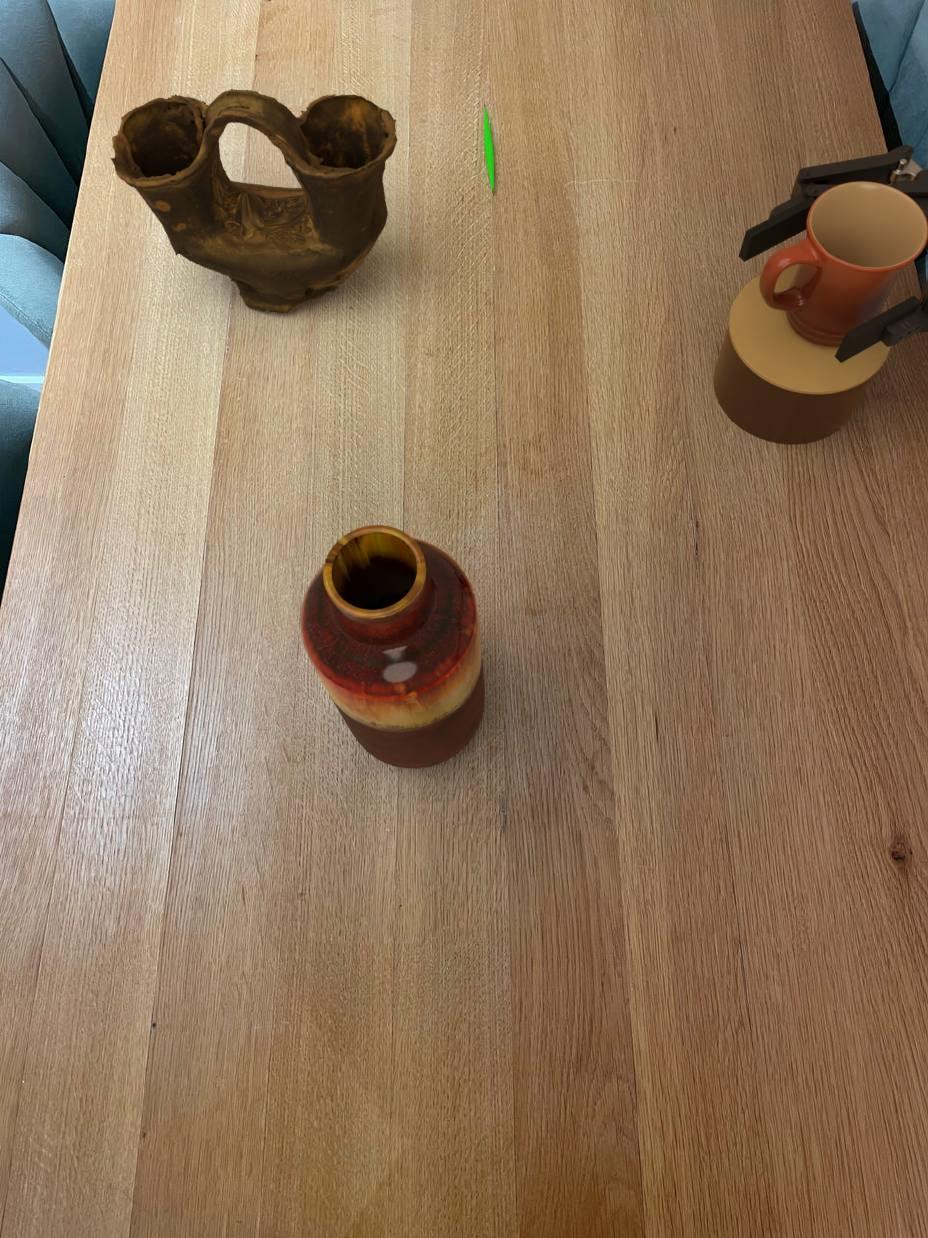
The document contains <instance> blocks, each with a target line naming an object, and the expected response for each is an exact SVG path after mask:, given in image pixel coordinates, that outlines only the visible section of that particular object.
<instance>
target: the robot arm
mask: <svg viewBox="0 0 928 1238" xmlns="http://www.w3.org/2000/svg"><path fill="white" fill-rule="evenodd" d="M914 153H915V149H914V147H913V146H911V145H910V144H903V145H900V146H898V147H896V148H893V149H891V150H890V151H887V152H885V153H881V154H875V155H870V156H863V157H858V158H852V159H847V160H841V161H836V162H829V163H822V164H818V165H811V166H805V167H802V168H799V170H798V173H797V175H796V178H795V181H794V183H793V187H792V190H791V193H790V198H789V199H788V200H786V201H784V202H782V203H780V204H778V205H776V206H774V207H772V210H770V212H769V213H770V214H769V217H768V219H765V220H763V221H762V222H760V223H758V224H756V225H754V226H753V227H751V228H748V229H746V230H745V232H744V236H743V240H742V243H741V246H740V249H739V254H738V258H739V259H740V260H741V261H742V262H743V263H745V262H748V261H749V260H751V259H753V258H755V257H757V256H759V255H760V254H762V253H764V252H766V251H768V250H771V249H773V248H774V247H776V246H778V245H779V244H782V243H784V242H785V241H787V240H789V239H791V238H793V237H795V236H797V235H799V234H801V233H802V232H804V231H807V229H806V225H807V217H808V213H809V210H810V208H811V206H812V205H813V203H814V202H815V200H816V199H817V198H818V197H819V196H820V195H821V194H822V193H824V192H825V191H827V190H829V189H830V188H832V187H835V186H837V185H840V184H844V183H849V182H858V181H866V182H875V183H880V184H884V185H888V186H890V187H893V188H895V189H898V190H899V191H901V192H903V193H905V194H906V195H908V196H909V197H910V198H912V199H913V200H914V201H915V202H916V203H917V204H918V205H919V207H920V208H921V209H922V211H923V212H924V214H925V216H926V219H927V222H928V167H927V168H922V167H921V166H920V165H919V164H917V163H916V162H915V161H914V160H913V155H914ZM924 249H926V250H927V251H928V240H927V243H926V245H925V247H924ZM886 310H887V311H885V312H883V313H881V314H880V315H878V316H876V317H874V318H872V319H871V320H869V321H867V322H865V323H863V324H862V325H860V326H858V327H856V328H854V329H853V330H851V331H849V332H847V333H846V334H845V336H844V338H843V340H842V342H841V344H840V346H839V348H838V350H837V353H836V355H835V358H836V359H837V360H838V361H839V362H840V363H842V362H844V361H846V360H848V359H850V358H851V357H853V356H855V355H857V354H858V353H860V352H862V351H864V350H866V349H867V348H869V347H871V346H873V345H875V344H876V343H878V342H880V341H881V342H882V343H883V344H884V345H885V346H886V347H890V346H891V347H895V346H896V345H898V344H900V343H901V342H903V341H905V340H908V339H909V338H911V337H912V336H914V335H917V333H924V332H925V333H928V278H927V279H926V282H925V285H924V288H923V291H922V294H921V297H920V299H919V298H918V297H917V296H916V295H912V296H910V297H908V298H906V299H905V300H903V301H901V302H899V303H898V304H895V305H894V306H892V307H891V308H889V309H886Z"/></svg>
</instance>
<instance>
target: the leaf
mask: <svg viewBox="0 0 928 1238" xmlns="http://www.w3.org/2000/svg"><path fill="white" fill-rule="evenodd" d="M483 108H484V113H483V115H484V116H483V117H484V118H483V121H484V122H483V141H484V143H483V144H484V155H485V161H486V162H485V163H486V167H487V172H488V177H489V183H490V187H491V192H492V196H494V192H495V191H494V189H495V153H494V143H493V137H492V132H491V126H490V121H489V116H488V111H487V106H486V103H484V107H483Z"/></svg>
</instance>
